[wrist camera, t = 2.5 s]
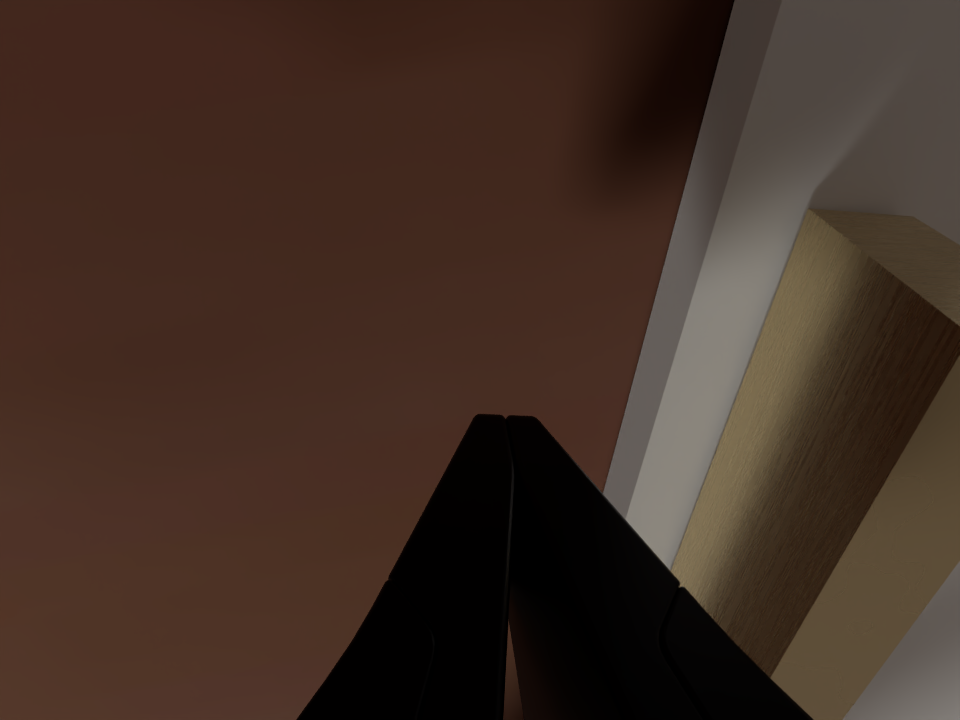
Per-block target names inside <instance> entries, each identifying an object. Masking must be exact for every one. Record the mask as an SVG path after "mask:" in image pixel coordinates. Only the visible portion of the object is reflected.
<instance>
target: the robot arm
mask: <svg viewBox="0 0 960 720" xmlns="http://www.w3.org/2000/svg"><path fill="white" fill-rule="evenodd" d="M679 587H680V581H679V580H678V579H677V578H676V577H675V576H674V574H673V573H672V572H671V571H670V570H669V569H668V568H667V566H666V565H665V564H664V563H663V562H662V561H661V560H660V558H659V557H658V556H657V555H656V554H655V553H654V552H653V550H652V549H651V548H650V547H649V546H648V545H647V544H646V542H645V541H644V540H643V539H642V538H641V537H640V536H639V534H638V533H637V532H636V531H635V530H634V529H633V528H632V526H631V525H630V524H629V523H628V522H627V521H626V520H625V518H624V517H623V516H622V515H621V514H620V513H619V512H618V510H617V509H616V508H615V507H614V506H613V505H612V504H611V502H610V501H609V500H608V499H607V498H606V497H605V496H604V494H603V493H602V492H601V491H600V490H599V489H598V488H597V486H596V485H595V484H594V483H593V482H592V481H591V480H590V478H589V477H588V476H587V475H586V474H585V473H584V472H583V470H582V469H581V468H580V467H579V466H578V465H577V464H576V462H575V461H574V460H573V459H572V458H571V457H570V456H569V454H568V453H567V452H566V451H565V450H564V449H563V448H562V446H561V445H560V444H559V443H558V442H557V441H556V440H555V438H554V437H553V436H552V435H551V434H550V433H549V432H548V430H547V429H546V428H545V427H544V426H543V425H542V423H541V422H540V421H539V420H538V419H537V418H535V417H533V416H517V415H509V416H508V417H507V418H506V419H505V418H504V417H503V416H502V415H493V414H477V415H476V416H475V417H474V418H473V420H472V422H471V424H470V425H469V427H468V429H467V431H466V433H465V435H464V437H463V439H462V440H461V442H460V444H459V446H458V448H457V450H456V452H455V454H454V455H453V457H452V459H451V461H450V463H449V465H448V467H447V468H446V470H445V472H444V474H443V476H442V478H441V480H440V482H439V483H438V485H437V487H436V489H435V491H434V493H433V495H432V496H431V498H430V500H429V502H428V504H427V506H426V508H425V510H424V511H423V513H422V515H421V517H420V519H419V521H418V523H417V524H416V526H415V528H414V530H413V532H412V534H411V536H410V538H409V539H408V541H407V543H406V545H405V547H404V549H403V551H402V553H401V554H400V556H399V558H398V560H397V562H396V564H395V566H394V567H393V569H392V571H391V573H390V575H389V578H388V580H387V581H386V582H385V584H384V585H383V587H382V589H381V591H380V593H379V595H378V597H377V598H376V600H375V602H374V604H373V606H372V607H371V609H370V611H369V613H368V614H367V616H366V618H365V619H364V621H363V623H362V625H361V626H360V628H359V630H358V631H357V633H356V635H355V637H354V638H353V640H352V641H351V643H350V644H349V646H348V647H347V649H346V650H345V652H344V653H343V655H342V656H341V658H340V659H339V661H338V662H337V663H336V665H335V666H334V668H333V669H332V671H331V672H330V674H329V675H328V677H327V678H326V680H325V681H324V682H323V684H322V685H321V687H320V688H319V689H318V691H317V692H316V693H315V695H314V696H313V697H312V699H311V700H310V702H309V703H308V704H307V706H306V707H305V708H304V710H303V711H302V713H301V714H300V715H299V717H298V718H297V719H296V720H503V712H504V693H505V674H506V655H507V636H508V619H509V625H510V632H511V638H512V644H513V651H514V657H515V664H516V670H517V677H518V683H519V689H520V696H521V702H522V709H523V715H524V720H814V719H813V718H812V717H811V716H810V715H809V714H808V713H807V712H805V711H804V710H803V709H802V708H801V707H800V706H799V705H798V704H797V703H796V702H795V701H794V700H793V699H792V698H791V697H790V696H789V695H788V694H787V693H786V692H784V691H783V690H782V689H781V688H780V687H779V686H778V685H777V684H776V683H775V682H774V681H773V680H772V679H771V678H770V677H769V676H768V675H767V674H766V673H765V672H764V671H763V670H762V669H761V668H760V667H759V666H758V665H757V664H756V663H755V662H754V661H753V660H752V659H751V658H750V657H749V656H748V655H747V654H746V653H745V652H744V651H743V650H742V649H741V648H740V647H739V646H738V645H737V644H736V643H735V642H734V641H733V640H732V639H731V638H730V637H729V636H728V635H727V633H726V632H725V631H724V630H723V629H722V628H721V627H720V626H719V625H718V624H717V623H716V621H715V620H714V619H713V618H712V617H711V616H710V615H709V614H708V613H707V612H706V611H705V610H704V608H703V607H702V606H701V605H700V604H699V603H698V602H697V600H696V599H695V598H694V597H693V596H692V595H691V594H690V592H689V591H688V590H687V589H686V588H685V587H683V586H682V587H680V588H679Z"/></svg>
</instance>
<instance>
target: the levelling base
mask: <svg viewBox="0 0 960 720" xmlns="http://www.w3.org/2000/svg"><path fill="white" fill-rule="evenodd" d="M808 209H822V210H835V211H848V212H862V213H875V214H888V215H902V216H913V217H915V218H917V219H918V220H920V221H922V222H923V223H925V224H926V225H928V226H930V227H931V228H933V229H934V230H936V231H938V232H939V233H941V234H943V235H944V236H946V237H947V238H949V239H951V240H952V241H954V242H955V243H957V244H959V245H960V0H735V1H734V4H733V8H732V12H731V16H730V19H729V23H728V27H727V31H726V34H725V38H724V42H723V46H722V49H721V53H720V57H719V61H718V64H717V68H716V72H715V76H714V80H713V83H712V87H711V91H710V95H709V98H708V102H707V106H706V110H705V113H704V117H703V121H702V125H701V128H700V132H699V136H698V140H697V143H696V147H695V151H694V155H693V158H692V162H691V166H690V170H689V173H688V177H687V181H686V185H685V188H684V192H683V196H682V200H681V203H680V207H679V211H678V215H677V218H676V222H675V226H674V230H673V233H672V237H671V241H670V245H669V248H668V252H667V256H666V260H665V263H664V267H663V271H662V275H661V279H660V282H659V286H658V290H657V294H656V297H655V301H654V305H653V309H652V312H651V316H650V320H649V324H648V327H647V331H646V335H645V339H644V342H643V346H642V350H641V354H640V357H639V361H638V365H637V369H636V372H635V376H634V380H633V384H632V387H631V391H630V395H629V399H628V402H627V406H626V410H625V414H624V417H623V421H622V425H621V429H620V432H619V436H618V440H617V444H616V447H615V451H614V455H613V459H612V462H611V466H610V470H609V474H608V478H607V481H606V485H605V489H604V493H603V494H604V496H605V497H606V498H607V499H608V500H609V501H610V502H611V504H612V505H613V506H614V507H615V508H616V509H617V510H618V512H619V513H620V514H621V515H622V516H623V517H624V518H625V520H626V521H627V522H628V523H629V524H630V525H631V526H632V528H633V529H634V530H635V531H636V532H637V533H638V534H639V536H640V537H641V538H642V539H643V540H644V541H645V542H646V544H647V545H648V546H649V547H650V548H651V549H652V550H653V552H654V553H655V554H656V555H657V556H658V557H659V558H660V560H661V561H662V562H663V563H664V564H665V565H666V566H667V568H668V569H669V570H670V571H671V569H672V566H673V564H674V561H675V559H676V556H677V553H678V551H679V548H680V545H681V543H682V540H683V537H684V535H685V532H686V530H687V527H688V524H689V522H690V519H691V516H692V514H693V511H694V508H695V506H696V503H697V501H698V498H699V495H700V493H701V490H702V487H703V485H704V482H705V479H706V477H707V474H708V471H709V469H710V466H711V464H712V461H713V458H714V456H715V453H716V450H717V448H718V445H719V442H720V440H721V437H722V435H723V432H724V429H725V427H726V424H727V421H728V419H729V416H730V413H731V411H732V408H733V406H734V403H735V400H736V398H737V395H738V392H739V390H740V387H741V384H742V382H743V379H744V376H745V374H746V371H747V369H748V366H749V363H750V361H751V358H752V355H753V353H754V350H755V347H756V345H757V342H758V340H759V337H760V334H761V332H762V329H763V326H764V324H765V321H766V318H767V316H768V313H769V310H770V308H771V305H772V303H773V300H774V297H775V295H776V292H777V289H778V287H779V284H780V281H781V279H782V276H783V274H784V271H785V268H786V266H787V263H788V260H789V258H790V255H791V252H792V250H793V247H794V245H795V242H796V239H797V237H798V234H799V231H800V229H801V226H802V223H803V221H804V218H805V215H806V213H807V210H808ZM843 720H960V561H959V563H958V564H957V565H956V567H955V568H954V569H953V571H952V572H951V573H950V575H949V576H948V578H947V579H946V580H945V582H944V583H943V584H942V586H941V587H940V588H939V590H938V591H937V592H936V594H935V595H934V596H933V598H932V599H931V601H930V602H929V603H928V605H927V606H926V607H925V609H924V610H923V611H922V613H921V614H920V615H919V617H918V618H917V620H916V621H915V622H914V624H913V625H912V626H911V628H910V629H909V630H908V632H907V633H906V634H905V636H904V637H903V638H902V640H901V641H900V643H899V644H898V645H897V647H896V648H895V649H894V651H893V652H892V653H891V655H890V656H889V657H888V659H887V660H886V662H885V663H884V664H883V666H882V667H881V668H880V670H879V671H878V672H877V674H876V675H875V676H874V678H873V679H872V680H871V682H870V683H869V685H868V686H867V687H866V689H865V690H864V691H863V693H862V694H861V695H860V697H859V698H858V699H857V701H856V702H855V704H854V705H853V706H852V708H851V709H850V710H849V712H848V713H847V714H846V716H845V717H844V718H843Z"/></svg>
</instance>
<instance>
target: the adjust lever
mask: <svg viewBox="0 0 960 720" xmlns="http://www.w3.org/2000/svg"><path fill="white" fill-rule="evenodd" d="M959 561H960V245H959V244H957V243H955V242H954V241H952V240H951V239H949V238H947V237H946V236H944V235H943V234H941V233H939V232H938V231H936V230H934V229H933V228H931V227H930V226H928V225H926V224H925V223H923V222H922V221H920V220H918V219H917V218H915V217H913V216H902V215H888V214H875V213H862V212H848V211H835V210H822V209H808V210H807V213H806V215H805V218H804V221H803V223H802V226H801V229H800V231H799V234H798V237H797V239H796V242H795V245H794V247H793V250H792V252H791V255H790V258H789V260H788V263H787V266H786V268H785V271H784V274H783V276H782V279H781V281H780V284H779V287H778V289H777V292H776V295H775V297H774V300H773V303H772V305H771V308H770V310H769V313H768V316H767V318H766V321H765V324H764V326H763V329H762V332H761V334H760V337H759V340H758V342H757V345H756V347H755V350H754V353H753V355H752V358H751V361H750V363H749V366H748V369H747V371H746V374H745V376H744V379H743V382H742V384H741V387H740V390H739V392H738V395H737V398H736V400H735V403H734V406H733V408H732V411H731V413H730V416H729V419H728V421H727V424H726V427H725V429H724V432H723V435H722V437H721V440H720V442H719V445H718V448H717V450H716V453H715V456H714V458H713V461H712V464H711V466H710V469H709V471H708V474H707V477H706V479H705V482H704V485H703V487H702V490H701V493H700V495H699V498H698V501H697V503H696V506H695V508H694V511H693V514H692V516H691V519H690V522H689V524H688V527H687V530H686V532H685V535H684V537H683V540H682V543H681V545H680V548H679V551H678V553H677V556H676V559H675V561H674V564H673V566H672V569H671V572H672V573H673V574H674V576H675V577H676V578H677V579H678V580H679V581H680V587H682V586H683V587H685V588H686V589H687V590H688V591H689V592H690V594H691V595H692V596H693V597H694V598H695V599H696V600H697V602H698V603H699V604H700V605H701V606H702V607H703V608H704V610H705V611H706V612H707V613H708V614H709V615H710V616H711V617H712V618H713V619H714V620H715V621H716V623H717V624H718V625H719V626H720V627H721V628H722V629H723V630H724V631H725V632H726V633H727V635H728V636H729V637H730V638H731V639H732V640H733V641H734V642H735V643H736V644H737V645H738V646H739V647H740V648H741V649H742V650H743V651H744V652H745V653H746V654H747V655H748V656H749V657H750V658H751V659H752V660H753V661H754V662H755V663H756V664H757V665H758V666H759V667H760V668H761V669H762V670H763V671H764V672H765V673H766V674H767V675H768V676H769V677H770V678H771V679H772V680H773V681H774V682H775V683H776V684H777V685H778V686H779V687H780V688H781V689H782V690H783V691H784V692H786V693H787V694H788V695H789V696H790V697H791V698H792V699H793V700H794V701H795V702H796V703H797V704H798V705H799V706H800V707H801V708H802V709H803V710H804V711H805V712H807V713H808V714H809V715H810V716H811V717H812V718H813V719H814V720H843V718H844V717H845V716H846V714H847V713H848V712H849V710H850V709H851V708H852V706H853V705H854V704H855V702H856V701H857V699H858V698H859V697H860V695H861V694H862V693H863V691H864V690H865V689H866V687H867V686H868V685H869V683H870V682H871V680H872V679H873V678H874V676H875V675H876V674H877V672H878V671H879V670H880V668H881V667H882V666H883V664H884V663H885V662H886V660H887V659H888V657H889V656H890V655H891V653H892V652H893V651H894V649H895V648H896V647H897V645H898V644H899V643H900V641H901V640H902V638H903V637H904V636H905V634H906V633H907V632H908V630H909V629H910V628H911V626H912V625H913V624H914V622H915V621H916V620H917V618H918V617H919V615H920V614H921V613H922V611H923V610H924V609H925V607H926V606H927V605H928V603H929V602H930V601H931V599H932V598H933V596H934V595H935V594H936V592H937V591H938V590H939V588H940V587H941V586H942V584H943V583H944V582H945V580H946V579H947V578H948V576H949V575H950V573H951V572H952V571H953V569H954V568H955V567H956V565H957V564H958V563H959ZM680 587H679V588H680Z"/></svg>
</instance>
